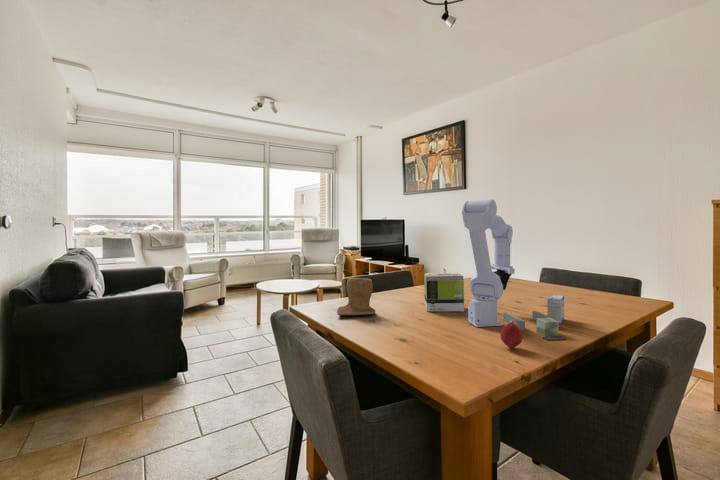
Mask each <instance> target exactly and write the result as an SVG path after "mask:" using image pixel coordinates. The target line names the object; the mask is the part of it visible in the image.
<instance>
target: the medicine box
mask: <svg viewBox="0 0 720 480" xmlns="http://www.w3.org/2000/svg"><path fill="white" fill-rule="evenodd" d="M546 304H547V306H546V307H547V308H546V309H547V313H546V314H547V316H549V317H551V318H554V319H556V320H557V321H558V322H559V325H562V323H563V321H564V320H565V296H564V295H558V294H557V295H556V294H552V295H550V296H549V297H548V298H547V302H546Z"/></svg>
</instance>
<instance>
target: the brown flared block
mask: <svg viewBox="0 0 720 480" xmlns="http://www.w3.org/2000/svg"><path fill="white" fill-rule="evenodd" d="M373 285H374V283H373V280H372V279H371V278H362V277H348V278H347V281H346V293H347V299H348V303H347V304H346V305H342V306H339V307H338V308H337V312H336V313H337V316H343V317H346V316H347V317H351V316H355V317H357V316H368V315H374V314H376V309H375V308H373V307H371V306H370V300H371V297H372V295H373Z"/></svg>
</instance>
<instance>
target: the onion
mask: <svg viewBox="0 0 720 480" xmlns="http://www.w3.org/2000/svg"><path fill="white" fill-rule="evenodd" d="M523 335H524V334H523V332H522V330H520V328H519V327H518V326H516V325H515V324H514V321H512V320H511V321H510V322H509V323H507V324H505V325H504V326H503V327H502V328H501V330H500V335H499V336H500V339H501V341H502V343H503V344H504V345H505V346H507V347H508V348H509V349H511V350H512V349H515V348H516V347H517V346H519V345H520V344H521V343H522V342H523V338H524V336H523Z"/></svg>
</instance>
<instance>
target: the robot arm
mask: <svg viewBox="0 0 720 480" xmlns="http://www.w3.org/2000/svg"><path fill="white" fill-rule="evenodd" d="M497 206H498V205H497V202H496V201H495V200H494V199H489V200H471V201H469V200H466V201H464V203H463V204H462V210H461V216H462V220H463V224H464V227H465V229H468V232H469V238H470V243H471V249H472V253H473V259H474V265H475V270H476V272H475V273H474V274H473V275H472V276H471V277H470V280H469V281H470V293H471V295H472V296H473V298H472V299H469V301H468V306H467V308H468V310H467V315H468V316H467V321H468V322H469V323H470V324H471V325H473V326H475V327H476V328H479V327H480V328H481V327H483V328H485V327H502V326H503V324H502V323H501V322H499V321H498V300H500V299H501V298H502V296H503V295H504V291H506V290H507V285H508V282H509V281H510V280H509V279H510V278H511V276H512V275H515V273H516V272H515V268H514V266H513V265H511V244H512V238H513V226H512V225H510V224H507V223H506V221H505V220H504V219H503V217H502V216H500V215H499V214H497V213H498V209H497V208H498V207H497ZM488 229H489V230H490V231H491V234H492V235H491V236H492V239H494V252H493V253H494V255H493V256H494V263H492V262H491V259H490V253H489V246H488V241H487V233H486V230H488ZM493 270H496V271H493Z"/></svg>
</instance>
